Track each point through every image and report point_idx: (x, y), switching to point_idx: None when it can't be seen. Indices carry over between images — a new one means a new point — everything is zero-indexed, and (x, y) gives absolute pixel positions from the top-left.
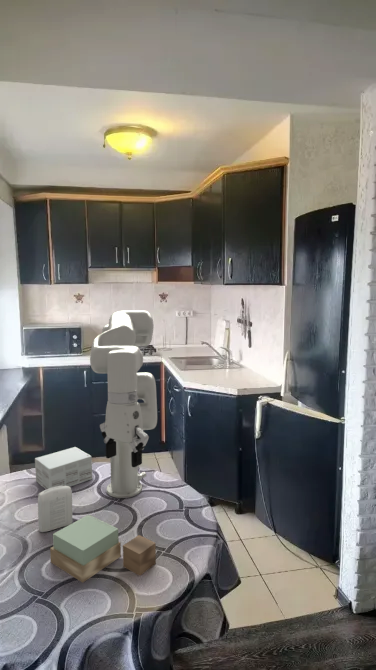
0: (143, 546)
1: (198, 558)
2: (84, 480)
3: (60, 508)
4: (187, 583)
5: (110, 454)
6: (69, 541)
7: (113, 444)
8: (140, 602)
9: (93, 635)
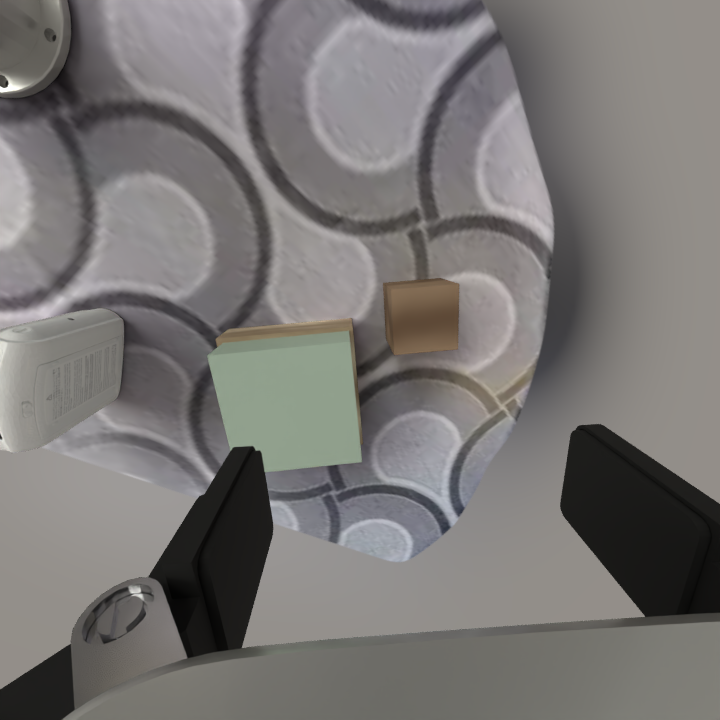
0: (443, 320)
1: (519, 179)
2: None
3: (83, 371)
4: (545, 278)
5: (262, 527)
6: (300, 464)
7: (226, 579)
8: (494, 384)
9: (479, 477)
